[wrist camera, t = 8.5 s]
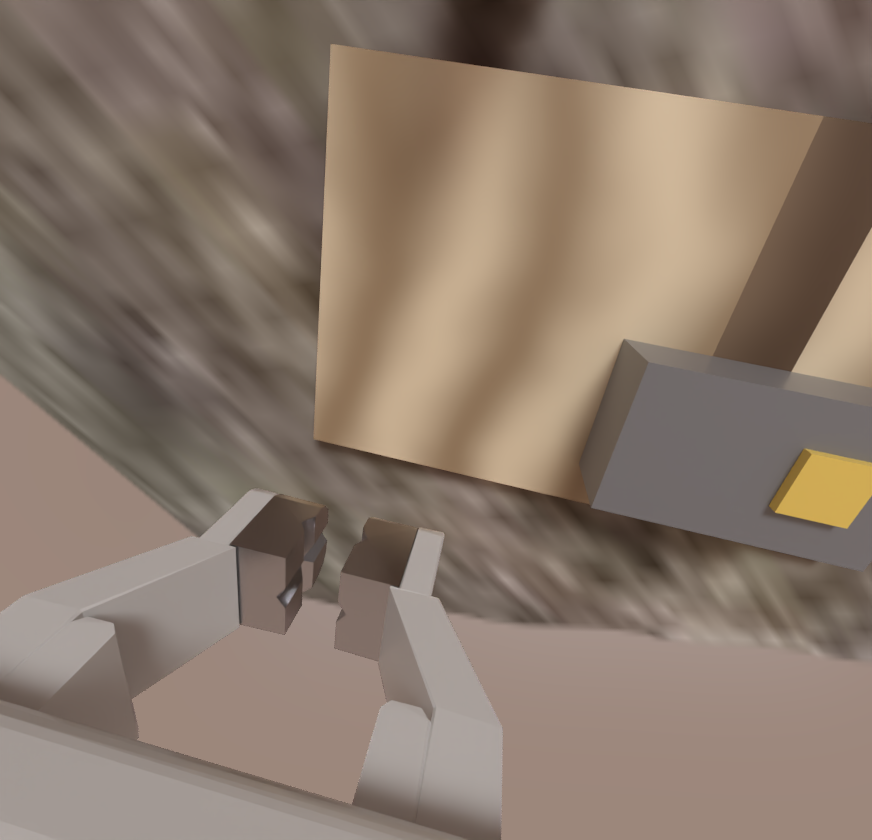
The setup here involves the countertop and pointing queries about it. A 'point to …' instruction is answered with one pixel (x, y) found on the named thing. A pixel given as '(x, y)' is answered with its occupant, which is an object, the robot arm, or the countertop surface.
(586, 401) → the subfloor panel
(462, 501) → the countertop surface
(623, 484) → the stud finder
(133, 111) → the countertop surface
